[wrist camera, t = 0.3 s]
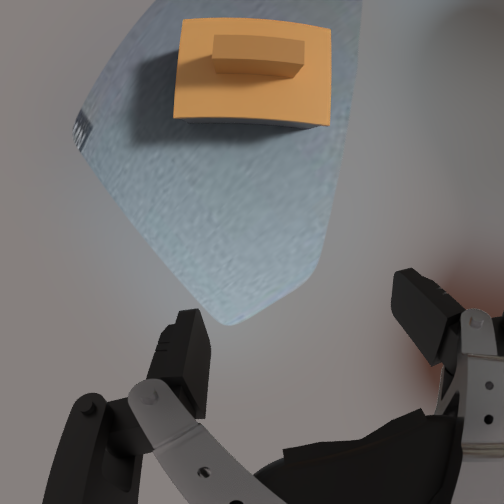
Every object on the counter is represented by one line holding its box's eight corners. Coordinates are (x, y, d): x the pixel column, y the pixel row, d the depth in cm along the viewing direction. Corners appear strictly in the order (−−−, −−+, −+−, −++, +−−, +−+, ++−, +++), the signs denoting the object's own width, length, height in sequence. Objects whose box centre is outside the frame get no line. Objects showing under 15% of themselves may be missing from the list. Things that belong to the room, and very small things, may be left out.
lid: (186, 27, 22) (174, -1, 16) (325, 35, 23) (346, 12, 17) (177, 120, 27) (160, 111, 20) (323, 127, 28) (347, 121, 21)
